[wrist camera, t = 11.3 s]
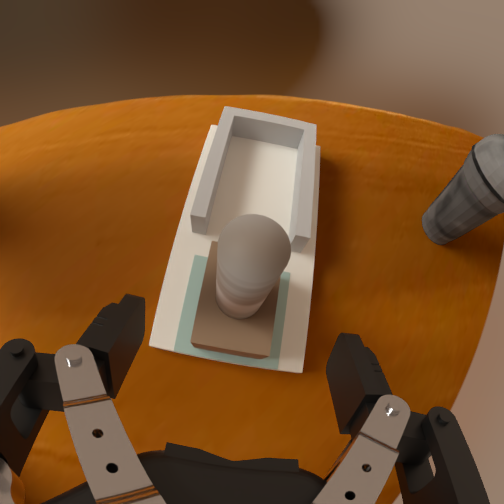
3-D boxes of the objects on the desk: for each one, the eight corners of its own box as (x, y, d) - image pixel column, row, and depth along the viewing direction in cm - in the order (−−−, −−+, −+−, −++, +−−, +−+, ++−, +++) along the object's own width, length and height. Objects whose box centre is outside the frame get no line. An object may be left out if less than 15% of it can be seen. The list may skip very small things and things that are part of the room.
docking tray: (211, 134, 33) (212, 104, 28) (316, 155, 33) (328, 128, 29) (152, 347, 23) (139, 340, 19) (297, 372, 24) (314, 371, 20)
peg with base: (211, 261, 25) (212, 167, 14) (272, 273, 25) (318, 189, 14) (194, 347, 22) (174, 318, 11) (260, 359, 22) (305, 341, 11)
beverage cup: (434, 265, 30) (570, 162, 11) (401, 209, 32) (511, 83, 14) (465, 243, 32) (579, 153, 13) (436, 194, 34) (532, 89, 15)
